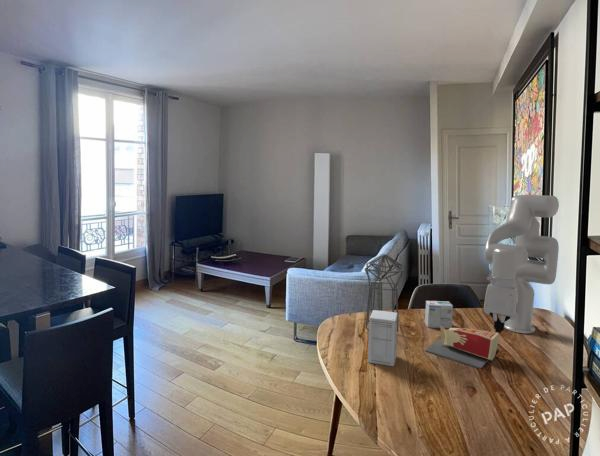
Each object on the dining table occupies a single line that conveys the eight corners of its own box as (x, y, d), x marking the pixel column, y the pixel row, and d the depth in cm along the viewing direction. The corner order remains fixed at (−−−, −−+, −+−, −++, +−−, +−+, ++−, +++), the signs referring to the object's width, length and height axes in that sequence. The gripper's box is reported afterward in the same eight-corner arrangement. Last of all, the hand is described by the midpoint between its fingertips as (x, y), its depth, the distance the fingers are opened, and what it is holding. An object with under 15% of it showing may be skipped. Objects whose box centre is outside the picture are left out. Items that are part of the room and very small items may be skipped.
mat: (446, 334, 160) (446, 333, 160) (497, 349, 147) (498, 347, 147) (425, 351, 143) (425, 350, 143) (480, 369, 130) (480, 367, 130)
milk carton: (498, 333, 140) (444, 319, 152) (493, 338, 133) (436, 323, 145) (495, 357, 140) (441, 341, 153) (489, 363, 133) (433, 346, 146)
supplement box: (396, 355, 140) (398, 312, 138) (394, 367, 131) (396, 320, 129) (370, 351, 143) (372, 309, 141) (367, 362, 134) (368, 317, 132)
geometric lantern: (362, 341, 152) (364, 256, 148) (364, 328, 167) (366, 250, 164) (402, 345, 148) (405, 258, 145) (401, 331, 163) (404, 252, 160)
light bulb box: (447, 323, 173) (449, 301, 172) (452, 329, 167) (453, 305, 165) (424, 322, 174) (425, 299, 173) (427, 327, 168) (428, 304, 166)
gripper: (477, 280, 136) (473, 329, 138) (524, 288, 126) (519, 340, 128) (483, 276, 141) (479, 323, 143) (529, 284, 131) (524, 334, 134)
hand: (498, 331), depth 136 cm, fingers closed
